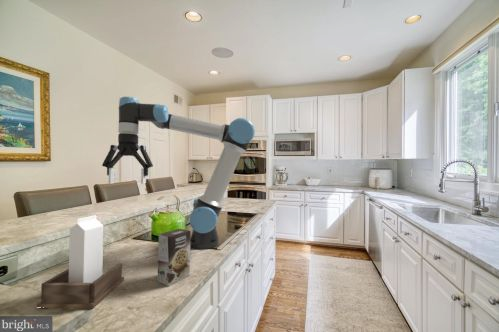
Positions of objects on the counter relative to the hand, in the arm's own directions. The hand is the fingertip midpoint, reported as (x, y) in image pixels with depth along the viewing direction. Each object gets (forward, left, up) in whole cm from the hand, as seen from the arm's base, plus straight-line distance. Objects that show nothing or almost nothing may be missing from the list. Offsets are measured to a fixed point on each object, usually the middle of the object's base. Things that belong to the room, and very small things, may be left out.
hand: (127, 183), depth 92 cm
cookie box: (-26, +17, -32) cm, 45 cm away
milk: (-2, +26, -31) cm, 40 cm away
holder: (-2, +26, -32) cm, 41 cm away
